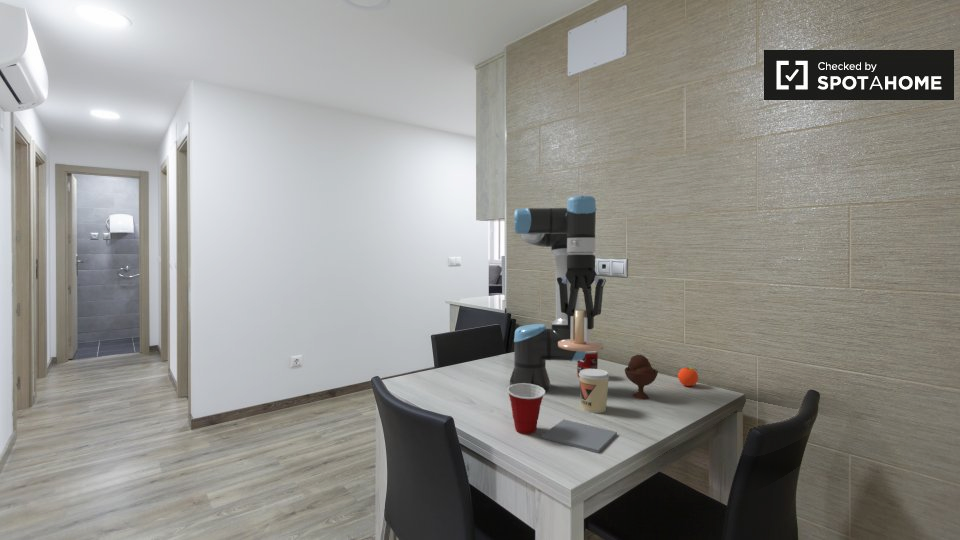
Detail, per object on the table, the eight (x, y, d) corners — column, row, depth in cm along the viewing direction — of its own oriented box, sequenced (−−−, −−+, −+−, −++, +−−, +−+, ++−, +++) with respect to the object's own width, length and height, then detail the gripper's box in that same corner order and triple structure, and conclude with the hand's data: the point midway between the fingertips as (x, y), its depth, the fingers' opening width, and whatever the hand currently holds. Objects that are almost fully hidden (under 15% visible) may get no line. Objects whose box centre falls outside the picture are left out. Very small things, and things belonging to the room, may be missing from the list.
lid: (550, 347, 120) (550, 310, 120) (569, 340, 130) (569, 306, 130) (593, 353, 113) (593, 314, 113) (609, 345, 123) (609, 309, 123)
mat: (541, 437, 122) (541, 434, 122) (563, 421, 133) (563, 419, 133) (598, 453, 112) (598, 450, 112) (616, 434, 124) (616, 431, 124)
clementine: (690, 382, 174) (690, 364, 174) (704, 387, 167) (704, 368, 167) (673, 384, 171) (674, 365, 171) (687, 389, 165) (687, 370, 164)
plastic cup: (518, 441, 120) (518, 396, 119) (500, 426, 130) (500, 385, 129) (552, 434, 124) (552, 391, 124) (533, 420, 134) (533, 381, 134)
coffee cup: (573, 406, 147) (573, 370, 146) (596, 402, 151) (596, 367, 150) (590, 415, 138) (591, 377, 138) (614, 411, 142) (615, 374, 141)
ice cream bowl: (660, 402, 150) (661, 358, 149) (626, 400, 152) (626, 357, 152) (654, 393, 160) (655, 351, 160) (622, 391, 163) (623, 350, 162)
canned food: (576, 374, 186) (576, 347, 185) (596, 374, 185) (596, 348, 184) (577, 379, 178) (578, 351, 178) (598, 380, 177) (598, 352, 177)
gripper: (547, 253, 122) (547, 338, 123) (605, 254, 113) (604, 346, 114) (559, 253, 129) (559, 334, 129) (615, 253, 119) (614, 341, 120)
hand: (580, 339), depth 122 cm, fingers closed on lid, 3 cm apart
